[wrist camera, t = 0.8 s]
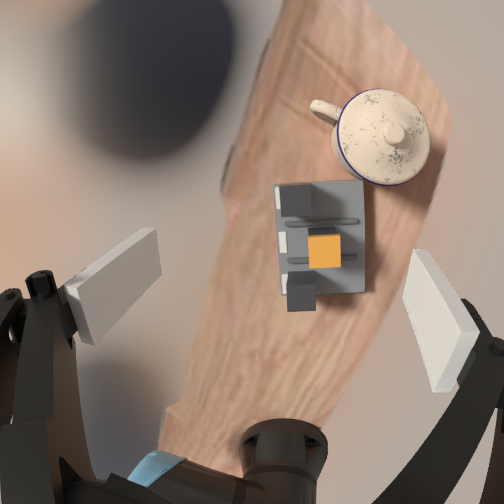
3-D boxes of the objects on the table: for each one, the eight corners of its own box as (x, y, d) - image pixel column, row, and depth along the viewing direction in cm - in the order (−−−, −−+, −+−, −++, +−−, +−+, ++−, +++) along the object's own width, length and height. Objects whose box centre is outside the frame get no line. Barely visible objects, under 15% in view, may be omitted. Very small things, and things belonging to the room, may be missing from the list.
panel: (361, 285, 37) (371, 307, 31) (282, 289, 39) (278, 312, 33) (359, 179, 34) (371, 181, 28) (274, 184, 36) (268, 187, 30)
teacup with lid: (414, 131, 31) (457, 117, 20) (383, 195, 34) (417, 208, 23) (325, 81, 32) (334, 45, 21) (293, 147, 34) (288, 137, 23)
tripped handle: (335, 253, 35) (340, 266, 30) (308, 254, 35) (309, 268, 30) (334, 226, 34) (340, 235, 29) (307, 227, 34) (307, 237, 30)
